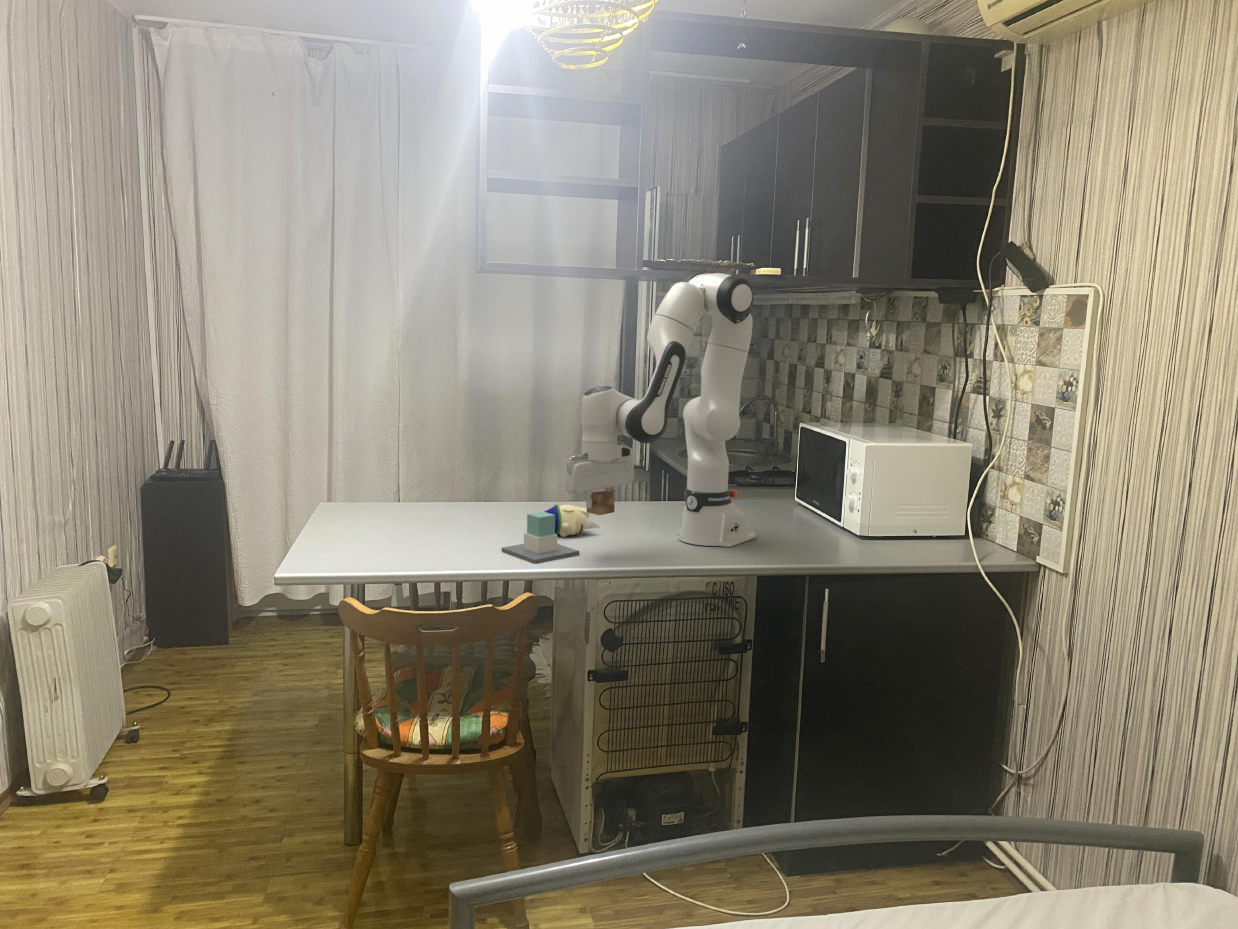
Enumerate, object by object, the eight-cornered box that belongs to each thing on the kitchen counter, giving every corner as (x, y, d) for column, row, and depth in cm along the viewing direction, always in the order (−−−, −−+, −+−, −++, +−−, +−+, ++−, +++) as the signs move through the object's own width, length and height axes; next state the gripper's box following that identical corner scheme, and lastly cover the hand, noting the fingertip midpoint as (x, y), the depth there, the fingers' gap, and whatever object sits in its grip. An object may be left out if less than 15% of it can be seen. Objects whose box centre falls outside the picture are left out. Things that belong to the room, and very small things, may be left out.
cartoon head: (599, 544, 255) (528, 545, 249) (592, 520, 262) (523, 520, 256) (605, 521, 250) (532, 521, 244) (598, 498, 257) (527, 497, 251)
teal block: (542, 530, 236) (543, 511, 235) (554, 534, 233) (555, 515, 232) (526, 533, 233) (527, 514, 232) (538, 537, 229) (539, 517, 228)
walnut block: (601, 509, 236) (601, 489, 235) (614, 512, 233) (614, 492, 232) (586, 512, 233) (586, 492, 232) (599, 515, 229) (599, 495, 228)
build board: (545, 543, 243) (545, 525, 242) (579, 554, 233) (579, 535, 232) (501, 551, 234) (501, 532, 233) (534, 563, 224) (535, 543, 223)
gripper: (575, 458, 221) (576, 514, 223) (637, 448, 234) (638, 501, 237) (559, 455, 226) (560, 510, 228) (621, 445, 239) (621, 497, 241)
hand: (600, 505), depth 233 cm, fingers closed on walnut block, 5 cm apart
